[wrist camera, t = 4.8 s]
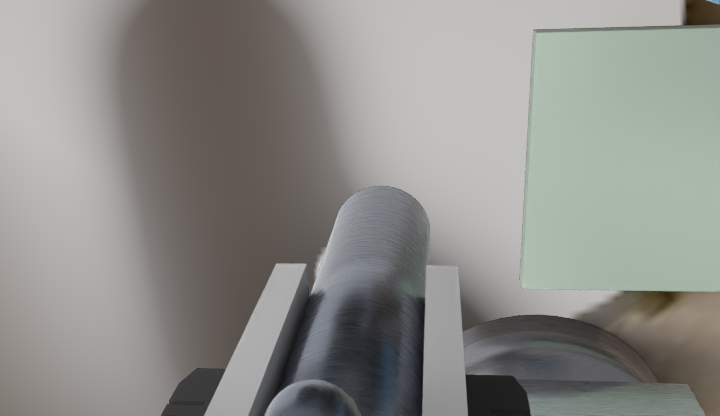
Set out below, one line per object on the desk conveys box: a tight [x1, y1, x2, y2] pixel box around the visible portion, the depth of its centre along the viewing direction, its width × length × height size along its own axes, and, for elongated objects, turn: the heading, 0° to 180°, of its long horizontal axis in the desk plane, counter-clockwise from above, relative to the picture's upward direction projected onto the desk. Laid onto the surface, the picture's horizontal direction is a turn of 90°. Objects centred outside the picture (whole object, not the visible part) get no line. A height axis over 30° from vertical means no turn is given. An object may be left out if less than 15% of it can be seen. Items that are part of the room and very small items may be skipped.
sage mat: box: [520, 24, 720, 292], centre depth 30 cm, size 12×12×1 cm
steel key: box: [264, 186, 430, 416], centre depth 15 cm, size 6×3×13 cm, turn 2°
